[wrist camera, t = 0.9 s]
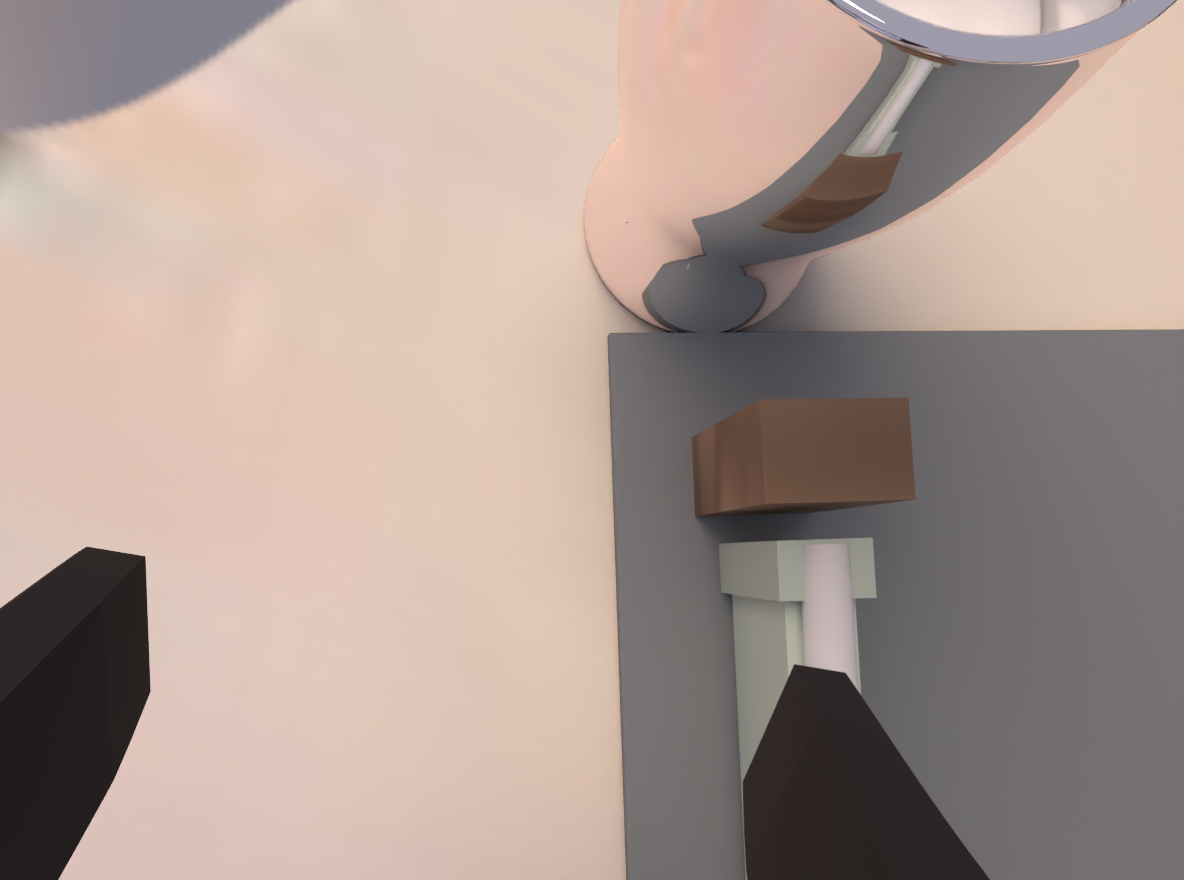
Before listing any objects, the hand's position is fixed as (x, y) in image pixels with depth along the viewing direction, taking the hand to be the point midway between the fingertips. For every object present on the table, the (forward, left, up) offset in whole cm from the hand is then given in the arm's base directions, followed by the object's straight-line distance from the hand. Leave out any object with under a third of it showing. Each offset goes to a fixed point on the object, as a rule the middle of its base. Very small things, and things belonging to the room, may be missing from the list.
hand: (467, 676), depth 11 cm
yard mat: (-4, -13, -13) cm, 19 cm away
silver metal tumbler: (+10, -6, -14) cm, 18 cm away
